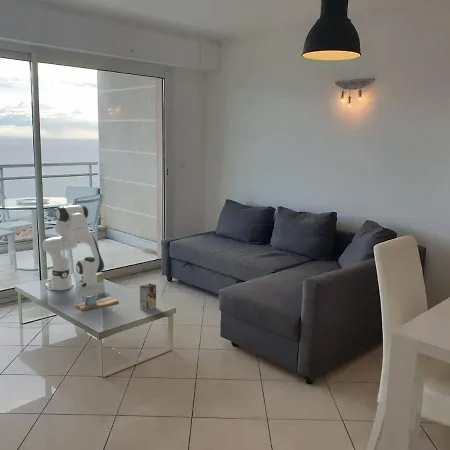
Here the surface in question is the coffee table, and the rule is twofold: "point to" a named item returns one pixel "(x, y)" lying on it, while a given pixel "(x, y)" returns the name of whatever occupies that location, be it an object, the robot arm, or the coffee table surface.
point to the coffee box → (147, 297)
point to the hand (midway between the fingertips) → (90, 301)
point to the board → (97, 303)
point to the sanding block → (90, 300)
